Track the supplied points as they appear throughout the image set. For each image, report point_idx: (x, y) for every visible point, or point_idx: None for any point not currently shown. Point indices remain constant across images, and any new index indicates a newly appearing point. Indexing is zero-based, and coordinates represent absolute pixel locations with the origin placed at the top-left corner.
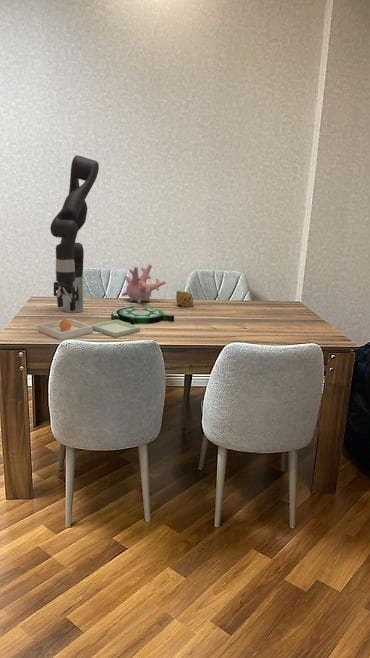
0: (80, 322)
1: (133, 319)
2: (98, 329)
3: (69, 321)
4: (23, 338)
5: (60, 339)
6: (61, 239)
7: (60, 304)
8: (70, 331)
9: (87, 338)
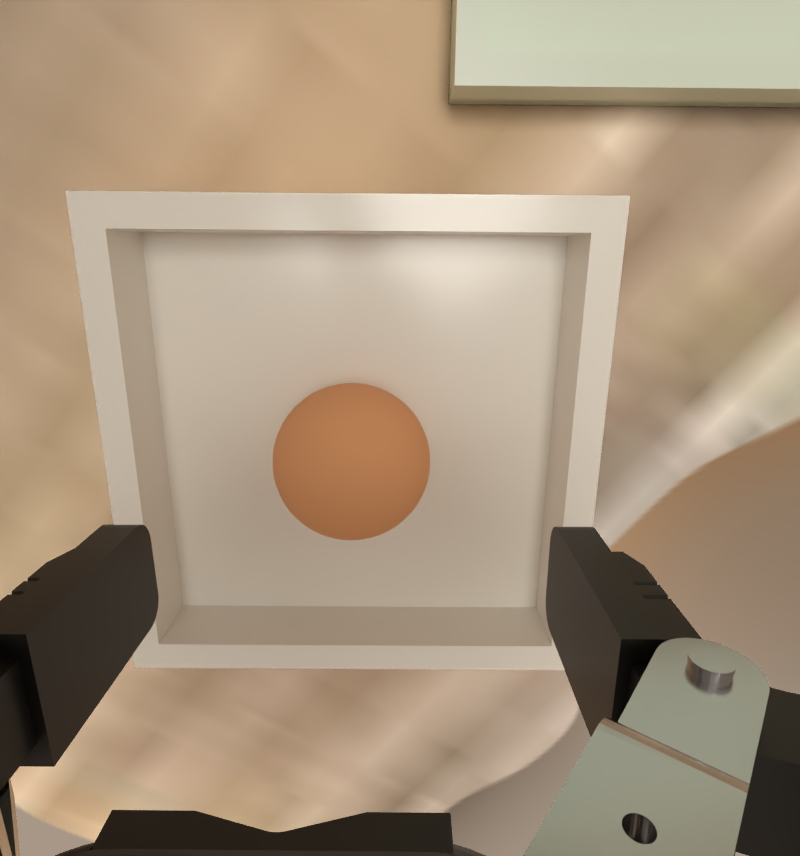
0: (354, 210)
1: None
2: (620, 96)
3: (396, 447)
4: (291, 800)
5: None
6: None
7: (127, 606)
8: None
9: (703, 388)
